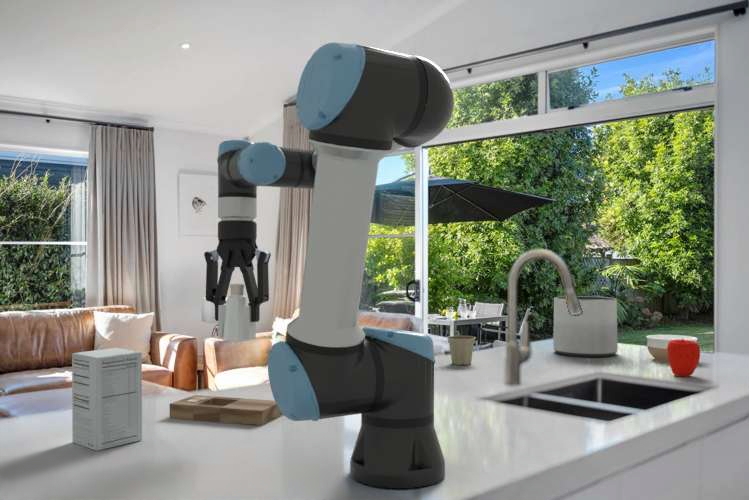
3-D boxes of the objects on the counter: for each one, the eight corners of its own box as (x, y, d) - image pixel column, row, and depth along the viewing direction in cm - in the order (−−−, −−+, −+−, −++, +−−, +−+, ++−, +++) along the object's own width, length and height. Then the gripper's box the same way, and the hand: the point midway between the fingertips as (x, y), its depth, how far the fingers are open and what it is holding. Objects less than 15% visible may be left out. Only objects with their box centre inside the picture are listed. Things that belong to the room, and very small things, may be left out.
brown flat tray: (262, 425, 142) (262, 409, 142) (169, 417, 149) (169, 402, 149) (282, 414, 152) (282, 400, 152) (195, 408, 158) (195, 394, 158)
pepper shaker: (223, 341, 133) (223, 284, 133) (222, 338, 138) (222, 283, 138) (252, 340, 134) (252, 284, 134) (249, 337, 140) (249, 283, 140)
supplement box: (117, 432, 136) (118, 347, 136) (143, 440, 130) (144, 351, 131) (70, 442, 129) (70, 352, 129) (95, 451, 123) (96, 356, 123)
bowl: (635, 358, 238) (635, 335, 238) (674, 356, 243) (674, 333, 243) (668, 365, 223) (668, 340, 223) (708, 363, 228) (708, 338, 228)
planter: (576, 347, 265) (576, 295, 265) (629, 354, 248) (629, 298, 248) (540, 353, 251) (540, 297, 251) (595, 360, 234) (595, 300, 234)
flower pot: (444, 365, 221) (444, 338, 221) (449, 361, 230) (449, 335, 230) (473, 366, 219) (473, 339, 219) (477, 362, 228) (477, 336, 228)
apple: (706, 377, 200) (706, 340, 200) (683, 379, 197) (683, 341, 197) (682, 372, 208) (682, 336, 208) (660, 374, 205) (660, 337, 205)
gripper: (287, 220, 137) (287, 337, 137) (206, 221, 143) (206, 334, 143) (271, 218, 130) (270, 342, 130) (186, 220, 136) (185, 338, 135)
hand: (237, 338), depth 136 cm, fingers closed on pepper shaker, 5 cm apart
